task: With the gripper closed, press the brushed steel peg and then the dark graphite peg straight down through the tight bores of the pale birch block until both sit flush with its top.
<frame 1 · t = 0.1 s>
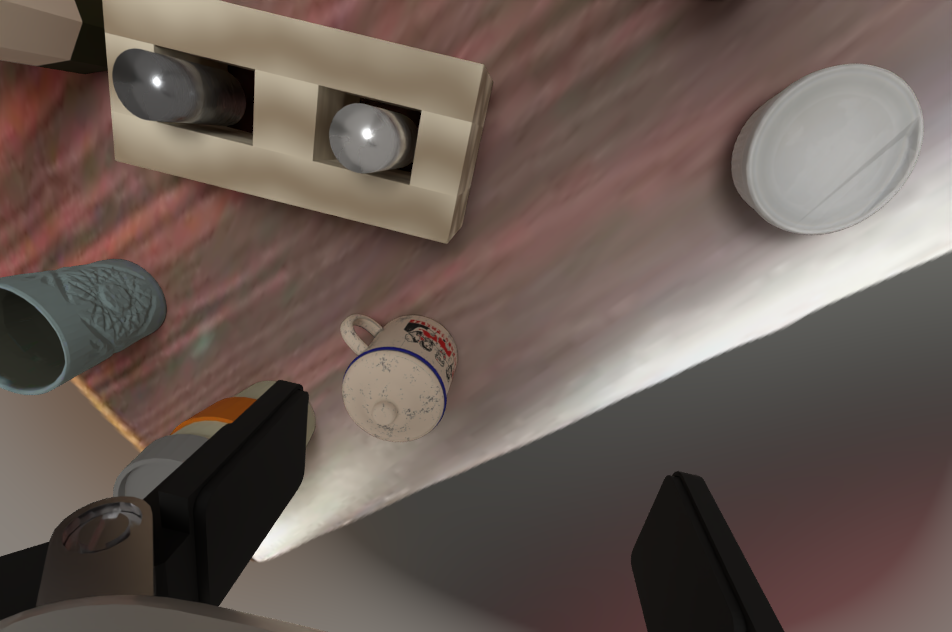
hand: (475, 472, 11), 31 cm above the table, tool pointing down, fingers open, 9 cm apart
blue cup: (131, 294, 47), on the table
ramekin: (790, 153, 36), on the table
graphite peg: (186, 92, 31), point 8 cm above the table, slide at 4.0 cm
birch block: (331, 122, 38), on the table
steel peg: (379, 140, 30), point 8 cm above the table, slide at 4.0 cm
reusable coffee cup: (278, 414, 51), on the table
wine bottle: (84, 21, 38), on the table
teacup with lid: (407, 341, 45), on the table
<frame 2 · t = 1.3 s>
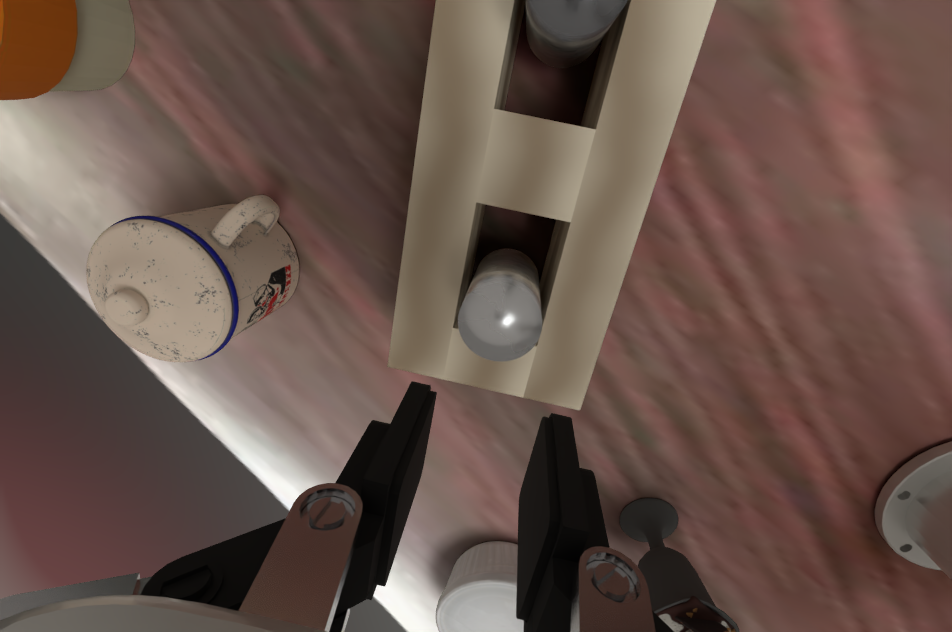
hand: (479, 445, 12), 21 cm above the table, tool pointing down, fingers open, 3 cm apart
ramekin: (501, 571, 43), on the table
graphite peg: (571, 1, 19), point 8 cm above the table, slide at 4.0 cm
birch block: (532, 162, 29), on the table
sundae: (648, 518, 39), on the table
steel peg: (503, 298, 24), point 8 cm above the table, slide at 4.0 cm
reusable coffee cup: (74, 16, 30), on the table
teacup with lid: (260, 246, 34), on the table
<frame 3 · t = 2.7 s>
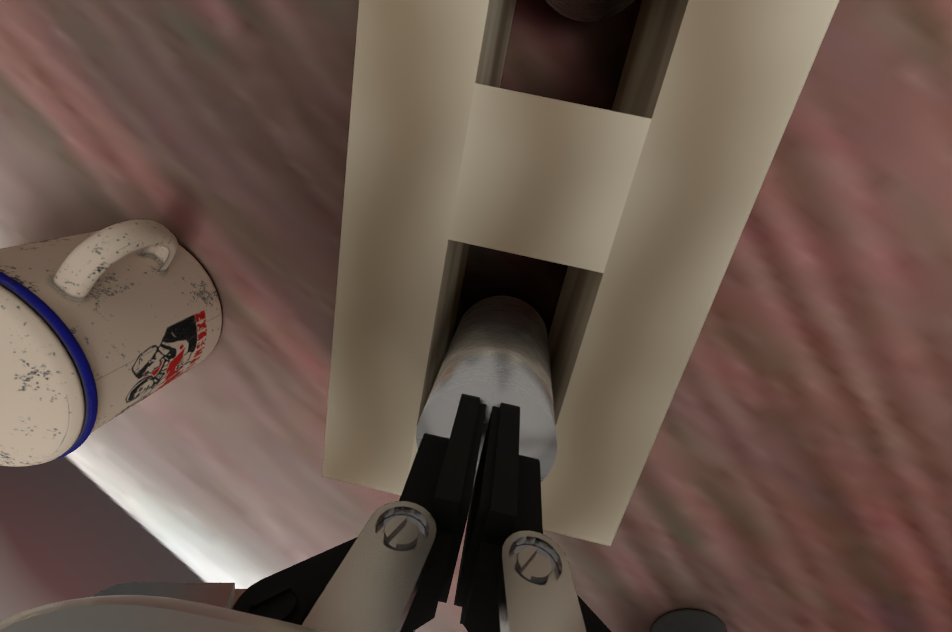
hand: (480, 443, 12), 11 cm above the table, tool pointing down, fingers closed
birch block: (538, 171, 21), on the table
sundae: (687, 631, 30), on the table
steel peg: (495, 380, 16), point 8 cm above the table, slide at 3.4 cm, touching gripper
teacup with lid: (169, 283, 25), on the table
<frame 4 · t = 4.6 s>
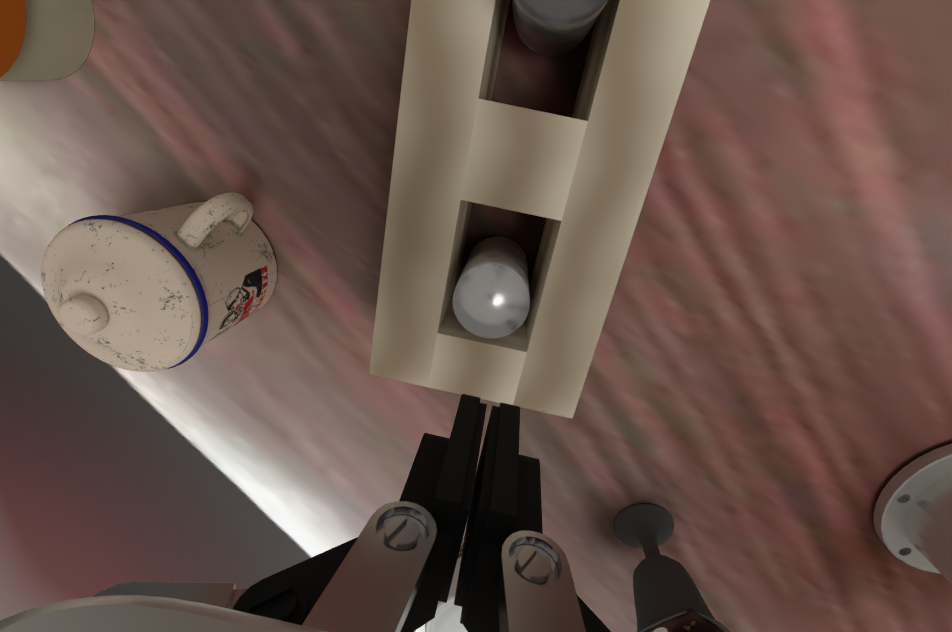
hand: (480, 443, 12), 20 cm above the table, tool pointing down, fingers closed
ramekin: (493, 579, 42), on the table
birch block: (521, 157, 28), on the table
sundae: (643, 523, 38), on the table
steel peg: (494, 281, 26), point 5 cm above the table, slide at 0.4 cm
reusable coffee cup: (27, 0, 27), on the table
teacup with lid: (235, 246, 32), on the table
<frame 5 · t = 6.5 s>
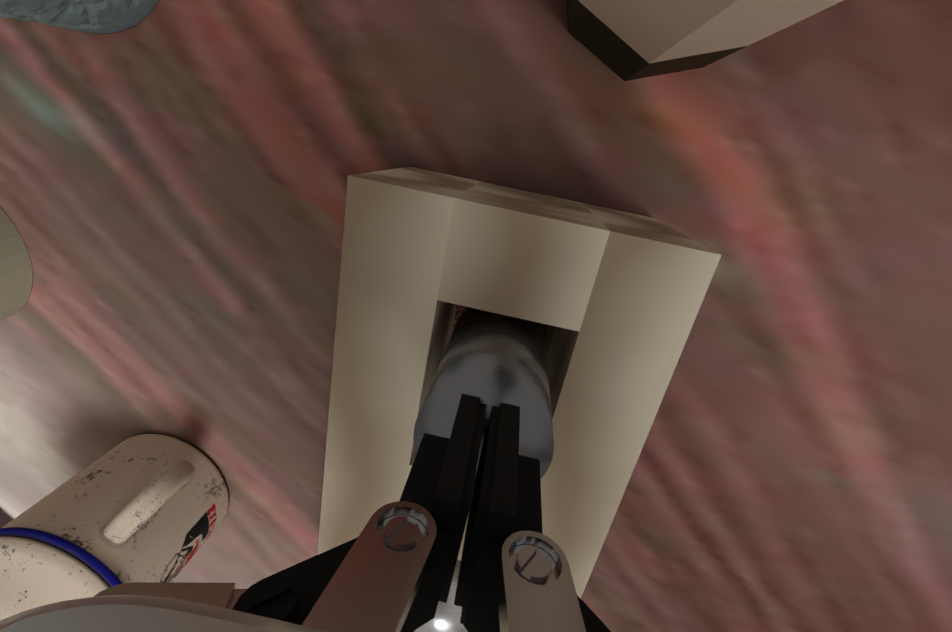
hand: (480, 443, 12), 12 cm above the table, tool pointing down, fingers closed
graphite peg: (492, 379, 16), point 8 cm above the table, slide at 3.9 cm, touching gripper
birch block: (479, 414, 26), on the table
steel peg: (446, 566, 24), point 5 cm above the table, slide at 0.4 cm
teacup with lid: (185, 470, 31), on the table
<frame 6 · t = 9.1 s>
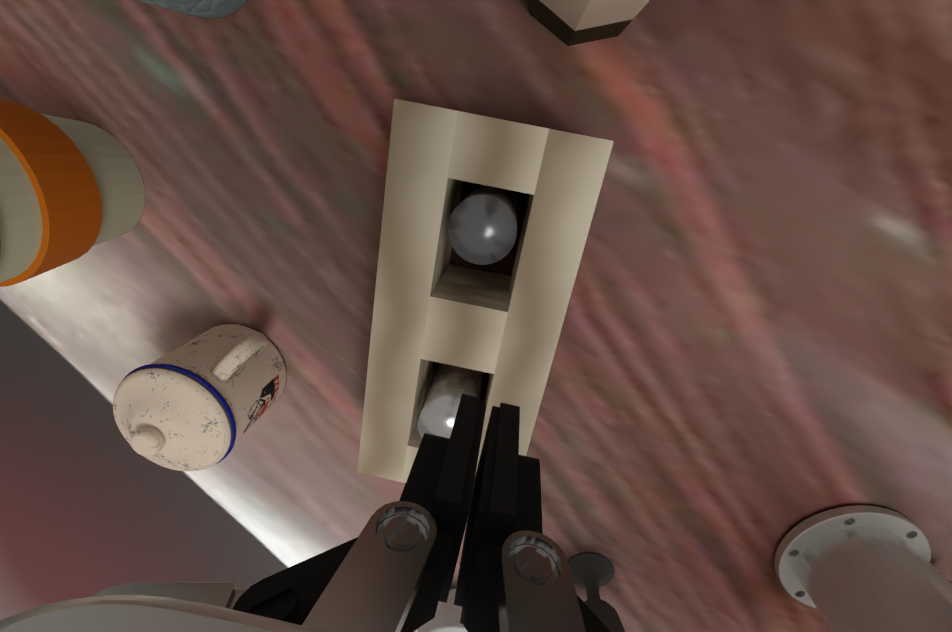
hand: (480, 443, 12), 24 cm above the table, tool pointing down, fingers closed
ramekin: (468, 612, 50), on the table
graphite peg: (486, 220, 29), point 5 cm above the table, slide at 0.4 cm
birch block: (475, 296, 36), on the table
sundae: (589, 568, 46), on the table
steel peg: (453, 399, 34), point 5 cm above the table, slide at 0.4 cm
reusable coffee cup: (94, 180, 36), on the table
teacup with lid: (252, 355, 40), on the table
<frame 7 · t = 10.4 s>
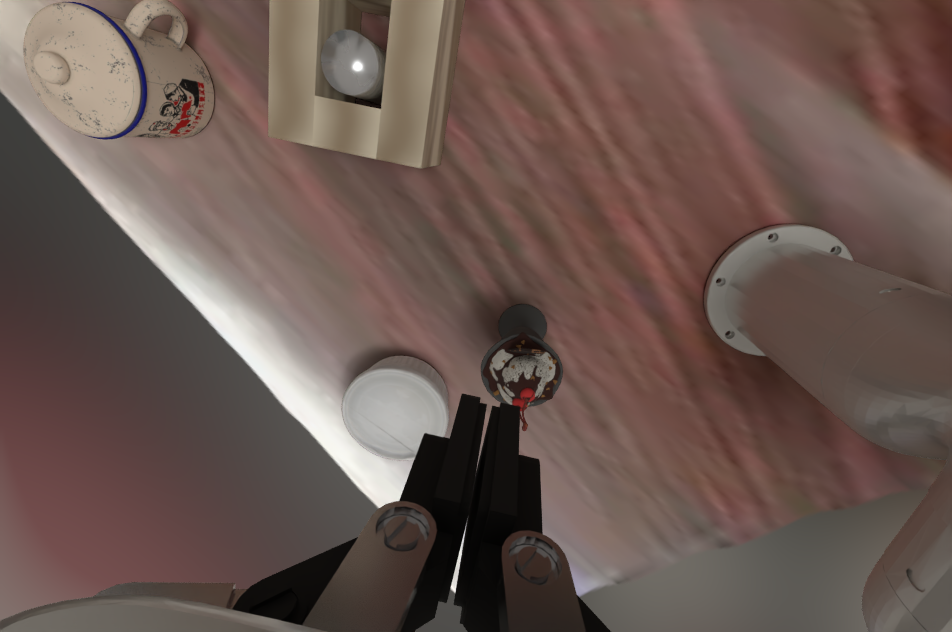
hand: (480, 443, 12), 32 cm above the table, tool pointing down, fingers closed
ramekin: (407, 390, 50), on the table
sundae: (522, 326, 46), on the table
steel peg: (366, 71, 34), point 5 cm above the table, slide at 0.4 cm
teacup with lid: (181, 76, 41), on the table
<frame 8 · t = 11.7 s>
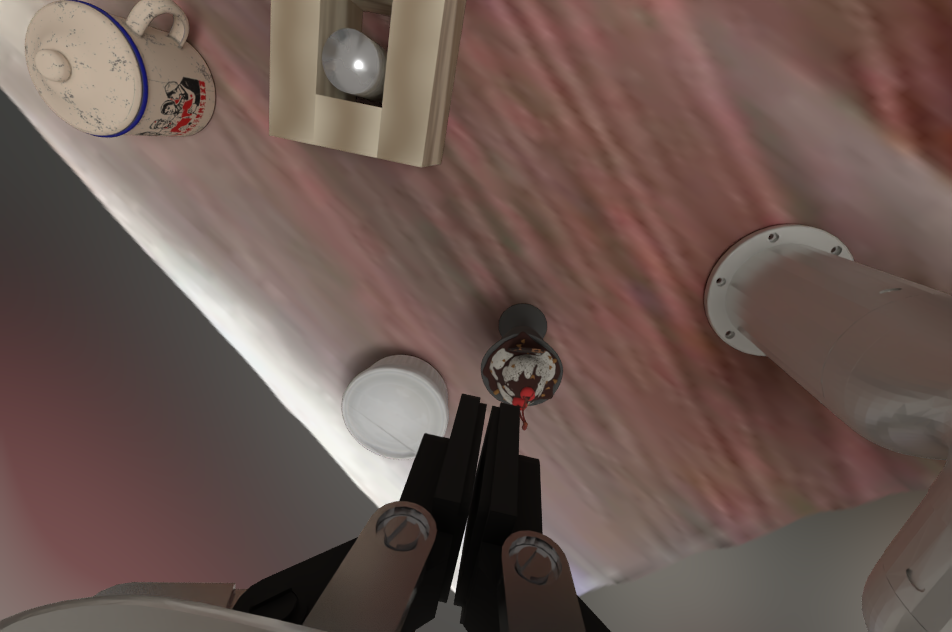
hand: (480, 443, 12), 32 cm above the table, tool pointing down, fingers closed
ramekin: (407, 389, 50), on the table
sundae: (523, 325, 46), on the table
steel peg: (367, 70, 34), point 5 cm above the table, slide at 0.4 cm
teacup with lid: (182, 74, 41), on the table
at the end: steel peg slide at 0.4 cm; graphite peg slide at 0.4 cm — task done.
